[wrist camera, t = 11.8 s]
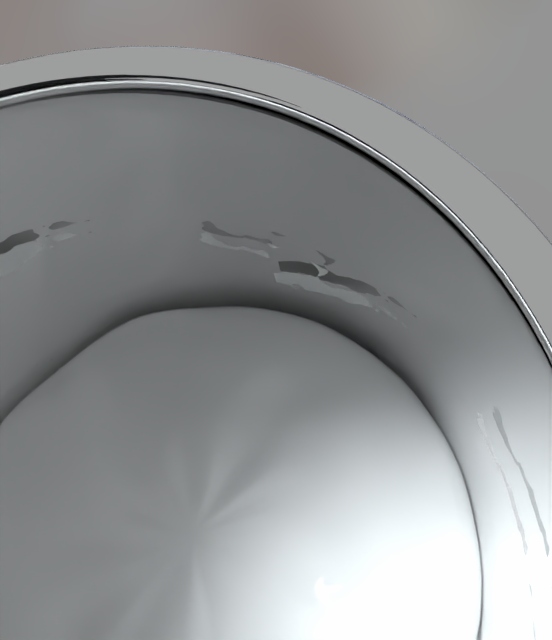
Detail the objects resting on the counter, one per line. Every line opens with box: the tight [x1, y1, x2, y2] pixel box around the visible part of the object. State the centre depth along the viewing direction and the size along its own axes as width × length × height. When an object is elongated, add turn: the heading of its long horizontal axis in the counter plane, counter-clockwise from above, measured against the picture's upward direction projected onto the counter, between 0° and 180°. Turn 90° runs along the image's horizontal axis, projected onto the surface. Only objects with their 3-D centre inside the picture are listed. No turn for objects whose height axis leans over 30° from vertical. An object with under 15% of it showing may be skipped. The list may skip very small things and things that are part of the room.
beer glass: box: [0, 46, 552, 640], centre depth 9 cm, size 7×7×15 cm
